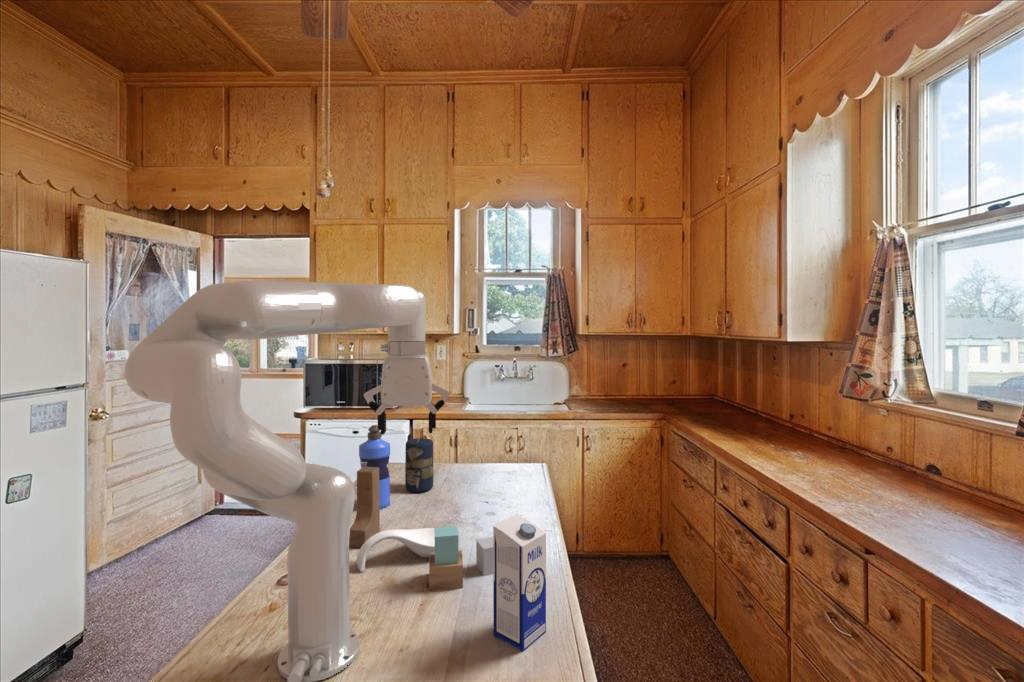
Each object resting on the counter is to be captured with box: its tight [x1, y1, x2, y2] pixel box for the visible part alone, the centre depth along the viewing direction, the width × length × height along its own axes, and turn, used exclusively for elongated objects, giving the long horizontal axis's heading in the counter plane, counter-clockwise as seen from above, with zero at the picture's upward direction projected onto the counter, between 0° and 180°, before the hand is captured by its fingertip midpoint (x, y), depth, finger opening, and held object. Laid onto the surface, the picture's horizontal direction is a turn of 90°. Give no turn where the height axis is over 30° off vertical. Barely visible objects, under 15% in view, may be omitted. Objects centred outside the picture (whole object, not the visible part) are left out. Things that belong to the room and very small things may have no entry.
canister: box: [404, 436, 434, 493], centre depth 161 cm, size 10×10×18 cm
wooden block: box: [349, 467, 381, 549], centre depth 121 cm, size 9×4×18 cm, turn 172°
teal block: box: [433, 525, 459, 565], centre depth 102 cm, size 5×5×6 cm
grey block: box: [475, 536, 493, 576], centre depth 107 cm, size 5×5×6 cm
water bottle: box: [358, 424, 391, 510], centre depth 146 cm, size 9×9×25 cm
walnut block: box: [428, 549, 464, 592], centre depth 102 cm, size 7×7×5 cm
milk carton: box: [492, 513, 547, 652], centre depth 84 cm, size 7×7×20 cm
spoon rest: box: [356, 527, 435, 573], centre depth 112 cm, size 24×12×7 cm, turn 120°
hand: (407, 432), depth 97 cm, fingers open, 9 cm apart
